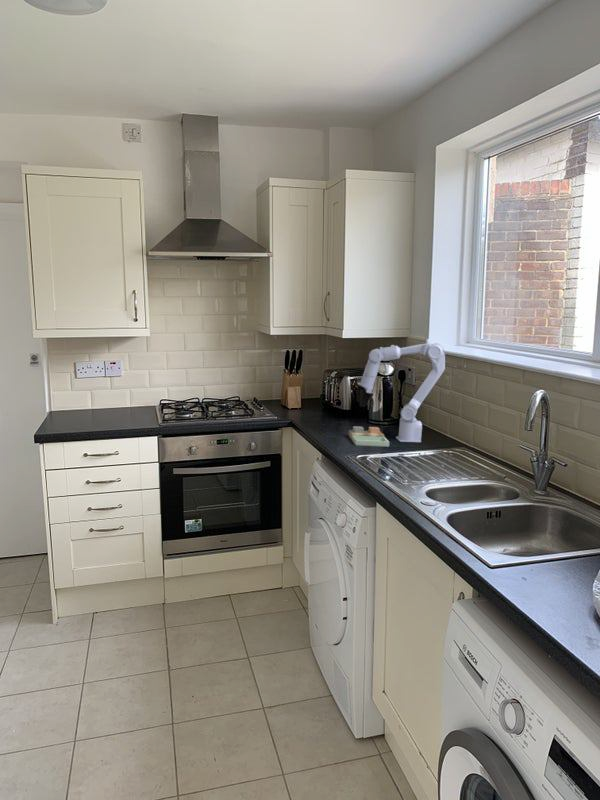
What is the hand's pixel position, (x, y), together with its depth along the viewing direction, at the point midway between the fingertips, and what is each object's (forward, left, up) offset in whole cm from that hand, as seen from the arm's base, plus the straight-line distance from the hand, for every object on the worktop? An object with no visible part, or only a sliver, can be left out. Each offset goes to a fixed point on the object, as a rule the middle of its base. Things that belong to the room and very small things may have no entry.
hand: (360, 404), depth 269 cm
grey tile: (+1, +7, -11) cm, 13 cm away
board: (-2, +8, -14) cm, 16 cm away
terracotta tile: (-6, +7, -11) cm, 14 cm away
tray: (-2, +17, -14) cm, 21 cm away
